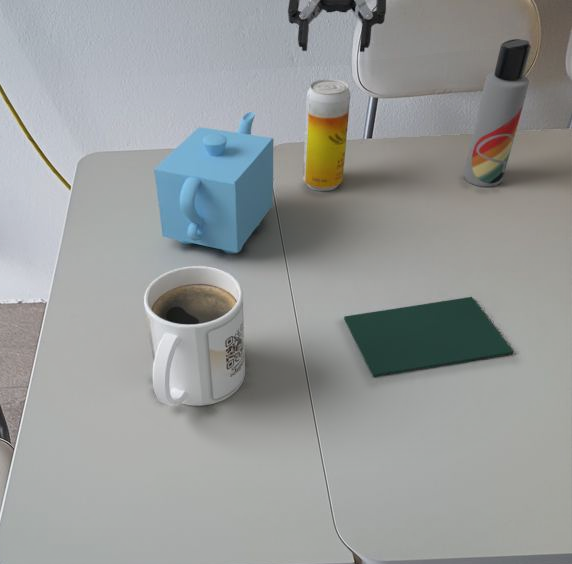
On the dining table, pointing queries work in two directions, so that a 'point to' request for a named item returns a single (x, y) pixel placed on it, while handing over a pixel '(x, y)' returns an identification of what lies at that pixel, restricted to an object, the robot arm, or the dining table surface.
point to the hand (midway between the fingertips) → (333, 48)
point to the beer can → (326, 133)
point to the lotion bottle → (498, 115)
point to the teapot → (216, 187)
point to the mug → (196, 335)
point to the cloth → (425, 336)
